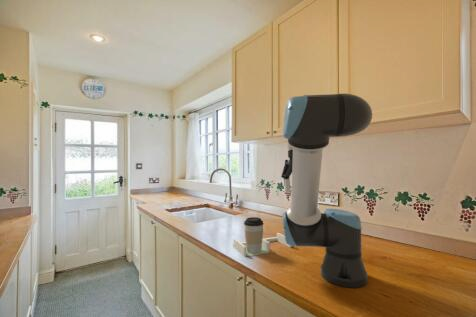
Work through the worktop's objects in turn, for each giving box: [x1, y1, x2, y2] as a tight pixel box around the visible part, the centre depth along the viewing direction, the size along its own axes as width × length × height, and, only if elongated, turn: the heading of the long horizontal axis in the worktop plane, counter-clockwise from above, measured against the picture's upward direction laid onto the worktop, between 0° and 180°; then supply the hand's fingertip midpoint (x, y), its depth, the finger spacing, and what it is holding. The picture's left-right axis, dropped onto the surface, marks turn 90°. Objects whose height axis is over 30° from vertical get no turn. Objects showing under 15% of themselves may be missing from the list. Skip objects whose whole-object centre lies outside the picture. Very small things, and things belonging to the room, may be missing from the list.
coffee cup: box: [243, 216, 264, 254], centre depth 109 cm, size 9×9×15 cm
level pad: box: [245, 248, 270, 257], centre depth 110 cm, size 10×10×1 cm
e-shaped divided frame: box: [232, 232, 293, 257], centre depth 115 cm, size 13×25×4 cm, turn 114°
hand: (296, 193), depth 115 cm, fingers open, 13 cm apart
